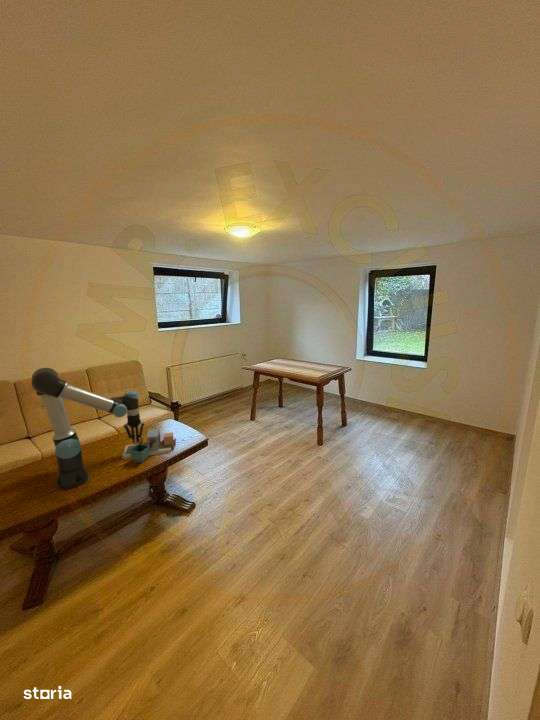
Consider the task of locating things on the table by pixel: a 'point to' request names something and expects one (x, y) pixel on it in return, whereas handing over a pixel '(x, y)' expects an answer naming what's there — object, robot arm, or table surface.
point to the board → (161, 451)
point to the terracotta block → (168, 438)
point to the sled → (153, 444)
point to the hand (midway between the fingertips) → (136, 446)
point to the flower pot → (139, 453)
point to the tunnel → (153, 438)
